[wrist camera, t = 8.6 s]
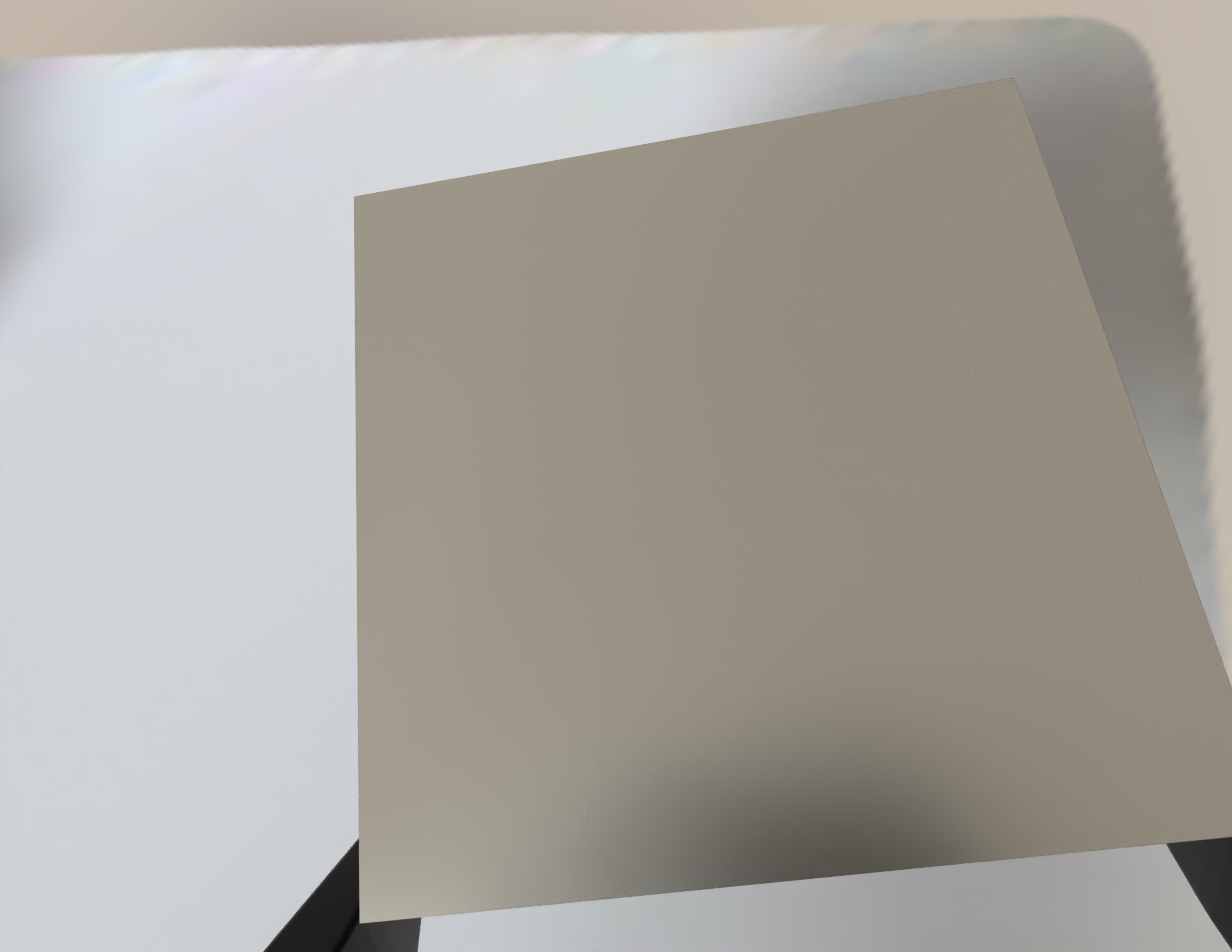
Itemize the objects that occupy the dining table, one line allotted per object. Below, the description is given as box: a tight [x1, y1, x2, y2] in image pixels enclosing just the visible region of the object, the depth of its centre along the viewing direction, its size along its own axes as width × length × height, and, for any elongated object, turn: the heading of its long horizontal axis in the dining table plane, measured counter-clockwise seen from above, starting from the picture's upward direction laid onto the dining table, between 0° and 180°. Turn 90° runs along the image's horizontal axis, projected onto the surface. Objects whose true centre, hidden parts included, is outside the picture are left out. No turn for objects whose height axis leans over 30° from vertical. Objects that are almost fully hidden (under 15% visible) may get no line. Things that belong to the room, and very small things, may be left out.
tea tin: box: [354, 78, 1232, 923], centre depth 11 cm, size 5×5×13 cm
